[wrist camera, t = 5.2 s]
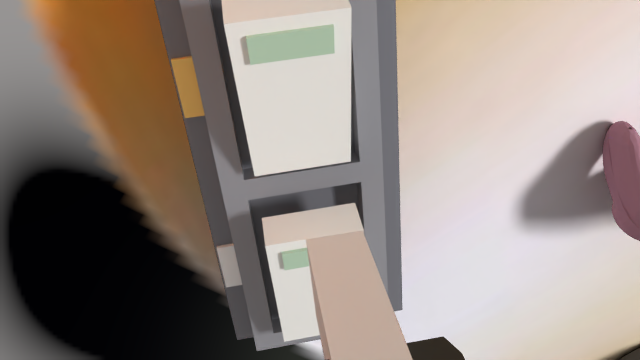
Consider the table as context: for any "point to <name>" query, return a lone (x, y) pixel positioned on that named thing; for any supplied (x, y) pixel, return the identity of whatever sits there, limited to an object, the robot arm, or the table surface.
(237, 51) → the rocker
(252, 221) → the power strip
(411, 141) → the table surface
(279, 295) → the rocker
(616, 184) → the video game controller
